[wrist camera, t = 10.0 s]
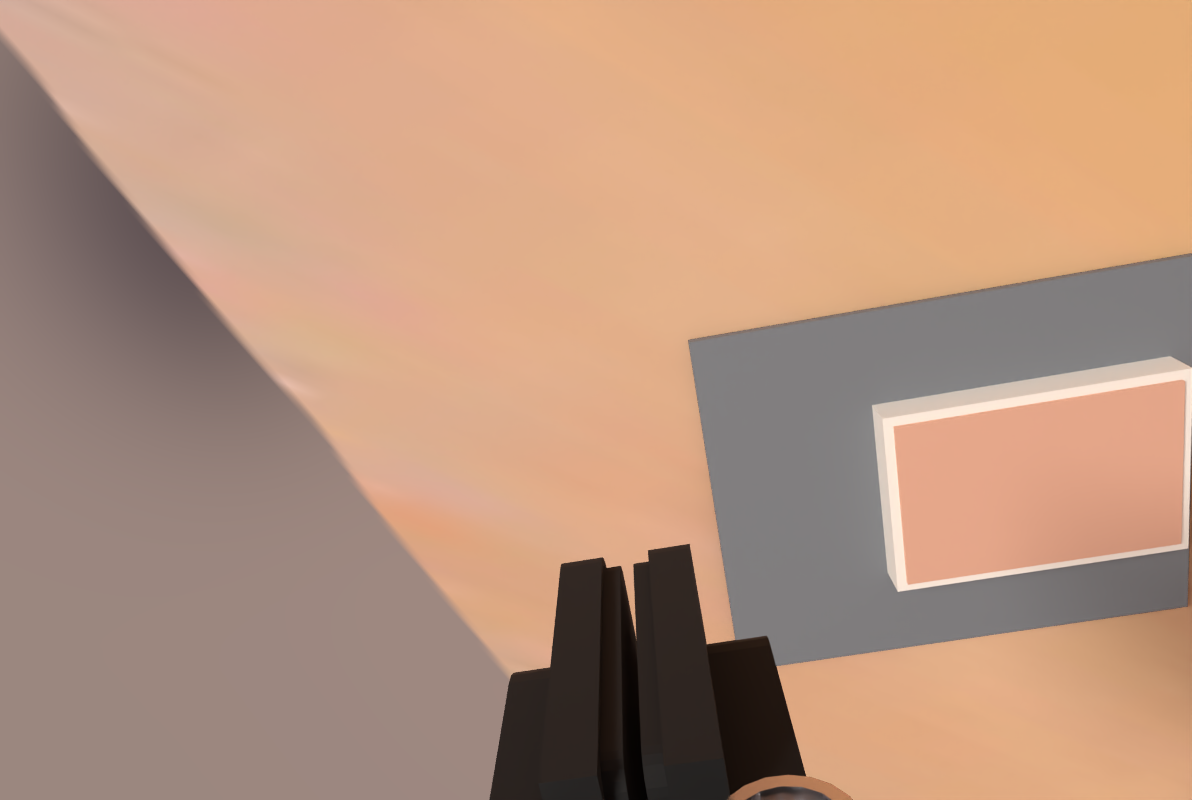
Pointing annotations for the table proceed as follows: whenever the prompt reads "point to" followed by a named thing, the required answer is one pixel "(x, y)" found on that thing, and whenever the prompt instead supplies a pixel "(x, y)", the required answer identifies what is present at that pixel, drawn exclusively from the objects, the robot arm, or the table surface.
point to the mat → (849, 460)
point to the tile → (1036, 473)
